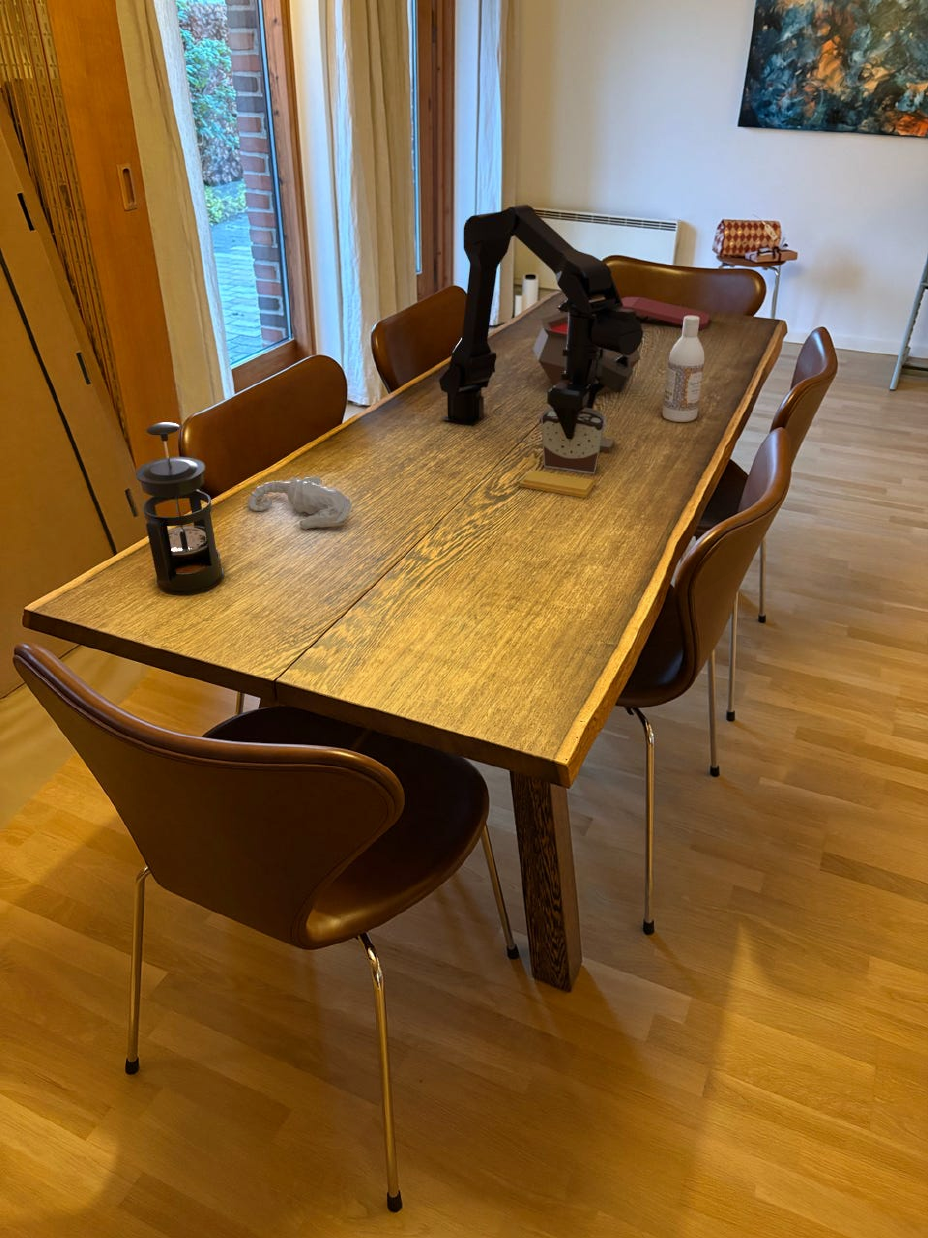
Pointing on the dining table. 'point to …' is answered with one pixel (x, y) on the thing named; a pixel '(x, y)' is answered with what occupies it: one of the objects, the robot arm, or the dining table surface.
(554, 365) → the brown faceted pot
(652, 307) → the dark red bevelled block
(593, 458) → the food container
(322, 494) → the seahorse
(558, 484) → the yellow brown rectangular slab
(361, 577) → the dining table surface
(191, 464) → the french press
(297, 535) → the dining table surface
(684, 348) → the bath foam
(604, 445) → the silver flat block
